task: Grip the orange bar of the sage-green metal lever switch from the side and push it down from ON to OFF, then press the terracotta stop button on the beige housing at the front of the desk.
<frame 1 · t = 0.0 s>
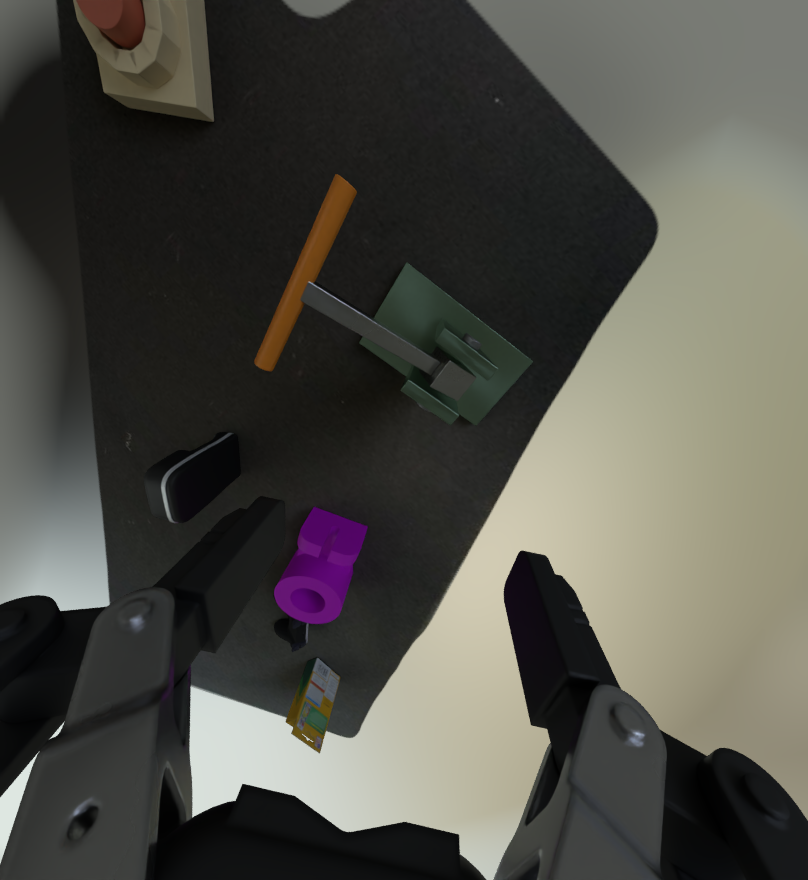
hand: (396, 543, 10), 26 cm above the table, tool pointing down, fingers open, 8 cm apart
crayon box: (324, 667, 61), on the table
battery charger: (228, 451, 41), on the table
stop housing: (160, 32, 24), on the table
stop button: (109, 1, 21), point 4 cm above the table, slide at 0.1 cm
switch bracket: (444, 350, 32), on the table
purple bearing bracket: (328, 552, 47), on the table
gaming controller: (296, 607, 54), on the table
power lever: (391, 340, 19), point 14 cm above the table, hinge at 28.0°
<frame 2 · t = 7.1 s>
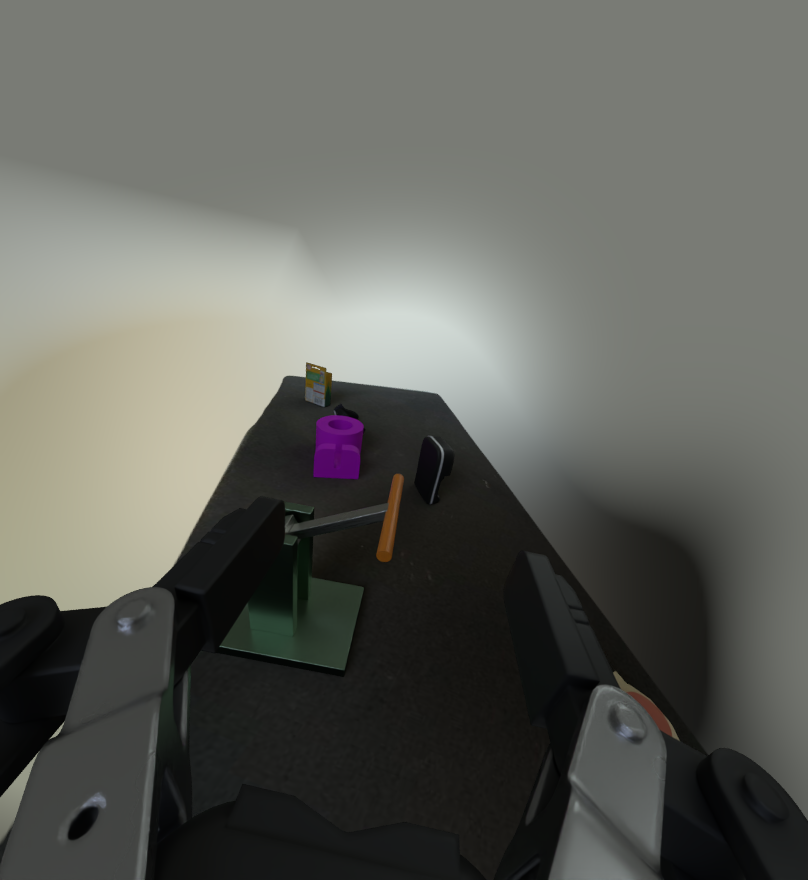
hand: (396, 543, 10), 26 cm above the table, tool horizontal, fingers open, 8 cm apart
crayon box: (317, 403, 90), on the table
battery charger: (428, 494, 58), on the table
stop button: (641, 721, 25), point 4 cm above the table, slide at 0.1 cm
switch bracket: (282, 616, 33), on the table
purple bearing bracket: (337, 457, 64), on the table
gaming controller: (348, 427, 79), on the table
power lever: (329, 524, 26), point 14 cm above the table, hinge at 28.0°
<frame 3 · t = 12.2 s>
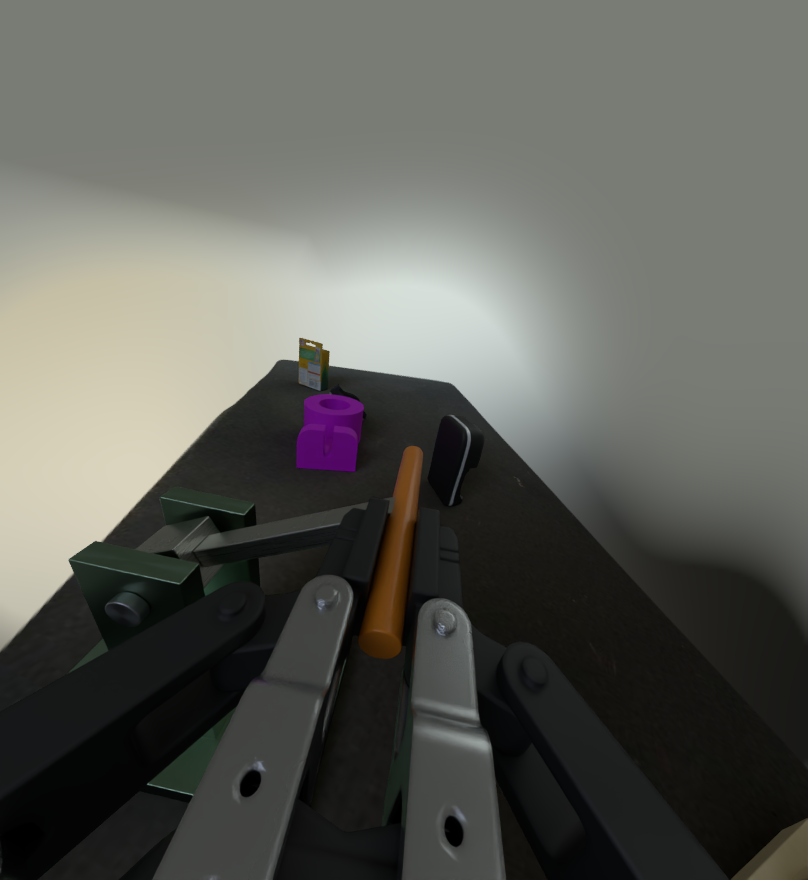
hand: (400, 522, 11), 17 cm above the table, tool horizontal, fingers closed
crayon box: (313, 387, 77), on the table
battery charger: (446, 493, 44), on the table
switch bracket: (211, 690, 19), on the table
purple bearing bracket: (330, 445, 51), on the table
gaming controller: (346, 413, 65), on the table
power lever: (274, 538, 13), point 14 cm above the table, hinge at 27.4°, touching gripper
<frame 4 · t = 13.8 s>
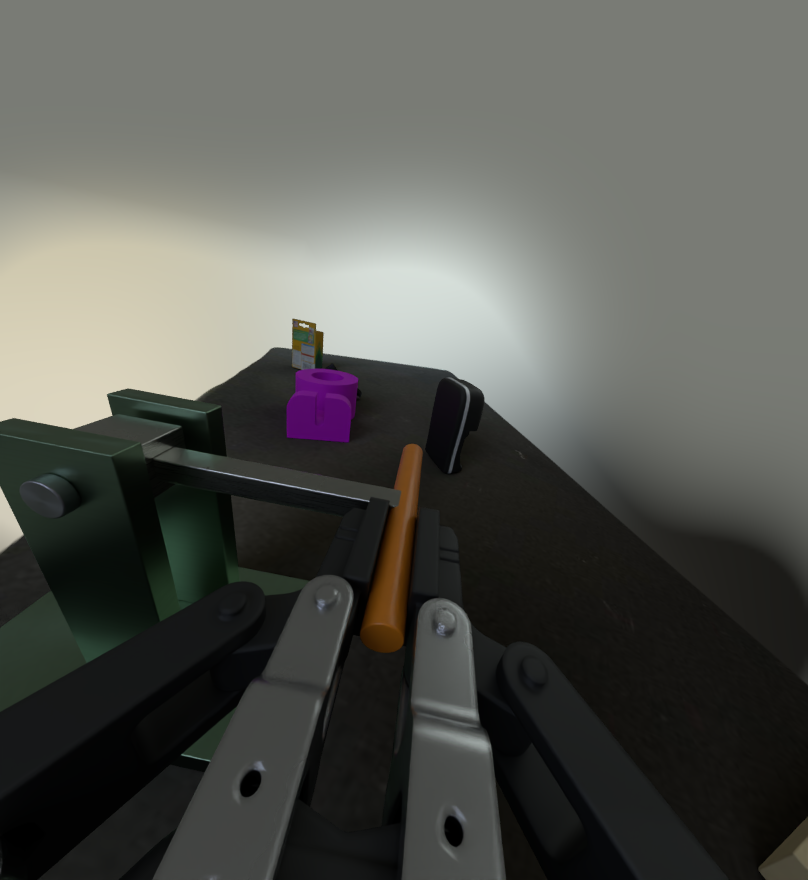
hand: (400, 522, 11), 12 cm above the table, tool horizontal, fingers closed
crayon box: (307, 370, 75), on the table
battery charger: (444, 463, 42), on the table
switch bracket: (179, 641, 17), on the table
purple bearing bracket: (324, 419, 49), on the table
gaming controller: (341, 392, 63), on the table
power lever: (255, 480, 12), point 12 cm above the table, hinge at -0.2°, touching gripper
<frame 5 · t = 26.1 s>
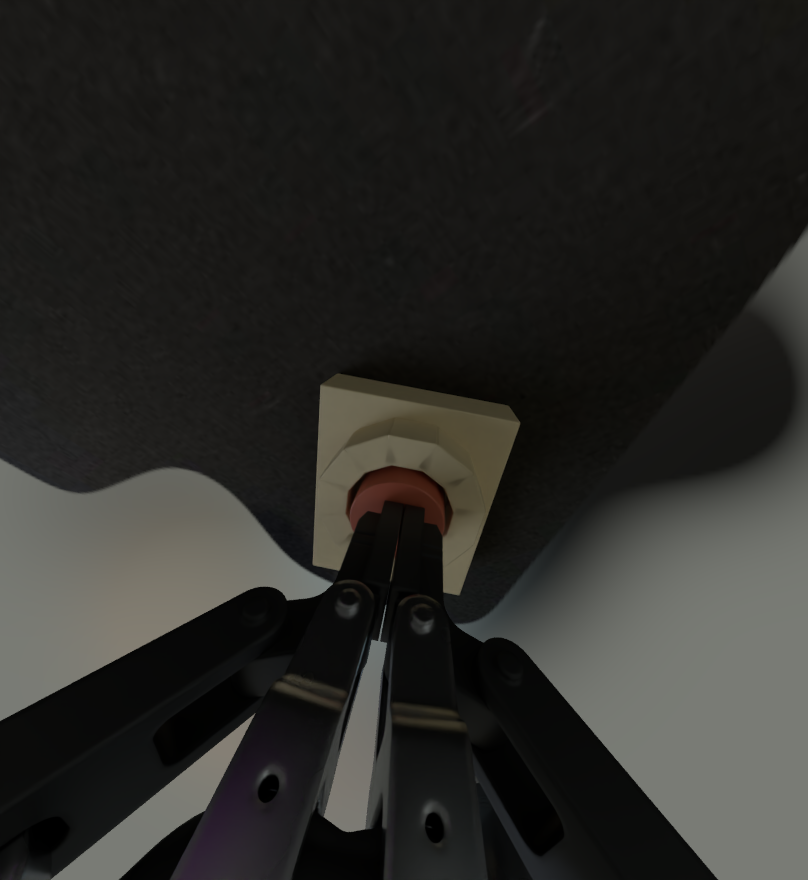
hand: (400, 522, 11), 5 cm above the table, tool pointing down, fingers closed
stop housing: (404, 480, 16), on the table
stop button: (399, 509, 12), point 4 cm above the table, slide at -0.7 cm, touching gripper
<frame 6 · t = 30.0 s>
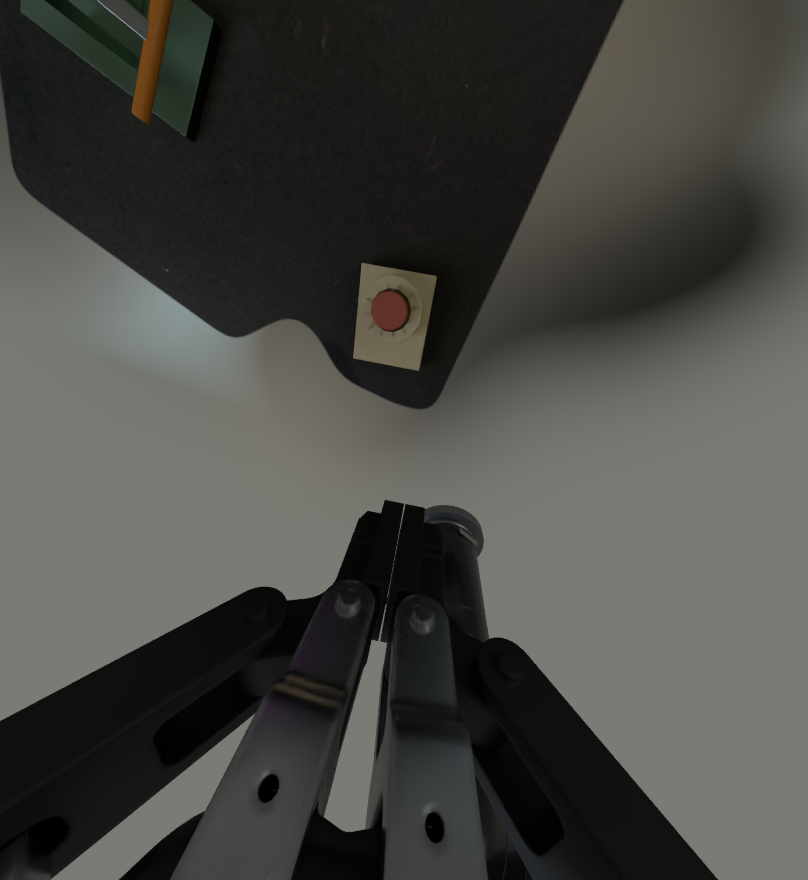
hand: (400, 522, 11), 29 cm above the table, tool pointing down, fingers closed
stop housing: (394, 319, 35), on the table
stop button: (390, 310, 31), point 4 cm above the table, slide at 0.1 cm
switch bracket: (127, 26, 27), on the table
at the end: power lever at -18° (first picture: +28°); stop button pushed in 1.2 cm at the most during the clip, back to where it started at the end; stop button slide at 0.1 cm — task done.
